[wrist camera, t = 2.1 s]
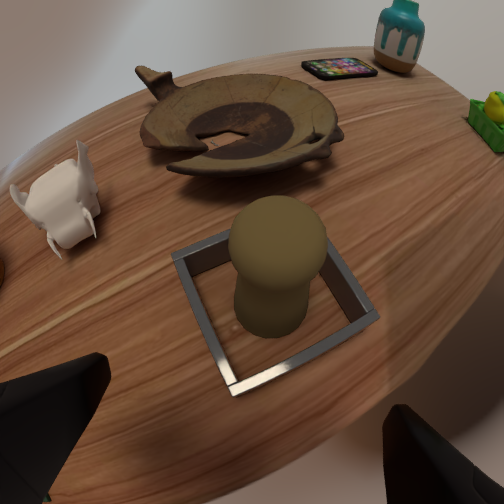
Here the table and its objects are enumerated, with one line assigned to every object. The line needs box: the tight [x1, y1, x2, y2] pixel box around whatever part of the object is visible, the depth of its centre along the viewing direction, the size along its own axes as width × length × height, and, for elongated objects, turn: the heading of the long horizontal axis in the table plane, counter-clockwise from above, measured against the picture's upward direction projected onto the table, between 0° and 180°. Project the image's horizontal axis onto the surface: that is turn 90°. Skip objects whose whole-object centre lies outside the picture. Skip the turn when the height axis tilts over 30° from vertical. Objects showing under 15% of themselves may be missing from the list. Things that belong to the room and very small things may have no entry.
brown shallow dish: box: [135, 66, 344, 177], centre depth 31 cm, size 22×30×8 cm
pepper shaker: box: [228, 196, 328, 338], centre depth 18 cm, size 6×6×11 cm
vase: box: [374, 0, 425, 73], centre depth 40 cm, size 11×11×19 cm
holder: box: [171, 229, 380, 398], centre depth 21 cm, size 12×12×4 cm
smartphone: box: [301, 58, 378, 80], centre depth 45 cm, size 8×1×15 cm
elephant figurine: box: [10, 140, 100, 260], centre depth 24 cm, size 10×12×9 cm
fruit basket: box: [468, 91, 504, 152], centre depth 32 cm, size 11×9×11 cm
